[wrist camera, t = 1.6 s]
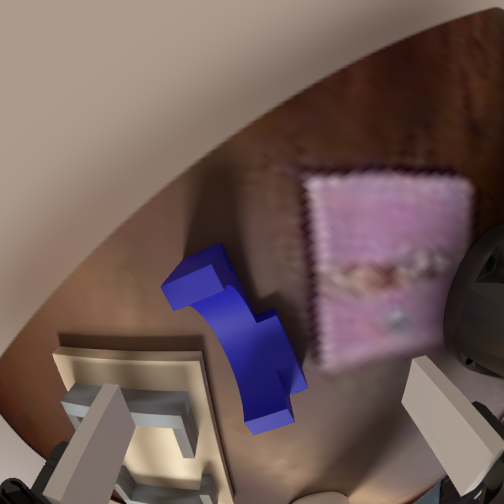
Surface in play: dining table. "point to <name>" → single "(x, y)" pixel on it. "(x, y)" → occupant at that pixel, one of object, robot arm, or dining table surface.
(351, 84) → the dining table surface
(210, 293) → the cable clip
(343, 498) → the alcohol
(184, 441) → the board
